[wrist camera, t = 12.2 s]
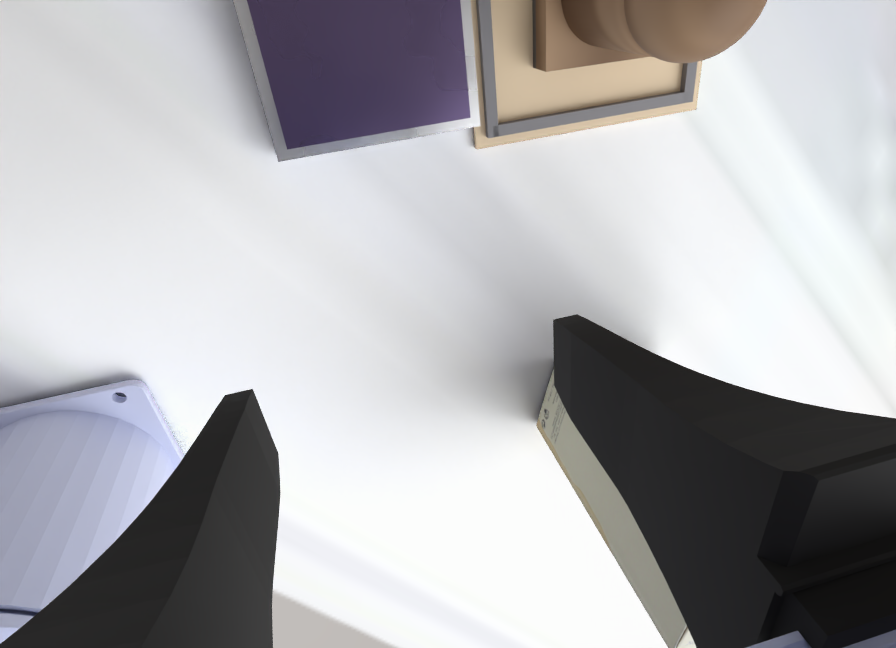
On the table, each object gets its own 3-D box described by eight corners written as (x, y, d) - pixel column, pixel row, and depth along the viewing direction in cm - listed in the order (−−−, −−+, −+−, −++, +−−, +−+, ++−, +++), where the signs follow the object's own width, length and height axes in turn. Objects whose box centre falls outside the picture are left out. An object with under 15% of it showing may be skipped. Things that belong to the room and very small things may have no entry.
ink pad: (279, 154, 19) (278, 163, 18) (209, -98, 15) (202, -105, 14) (472, 120, 20) (482, 127, 19) (451, -125, 16) (462, -134, 15)
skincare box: (533, 424, 29) (661, 660, 19) (555, 354, 27) (713, 576, 16) (636, 422, 30) (804, 636, 20) (664, 355, 28) (868, 557, 18)
